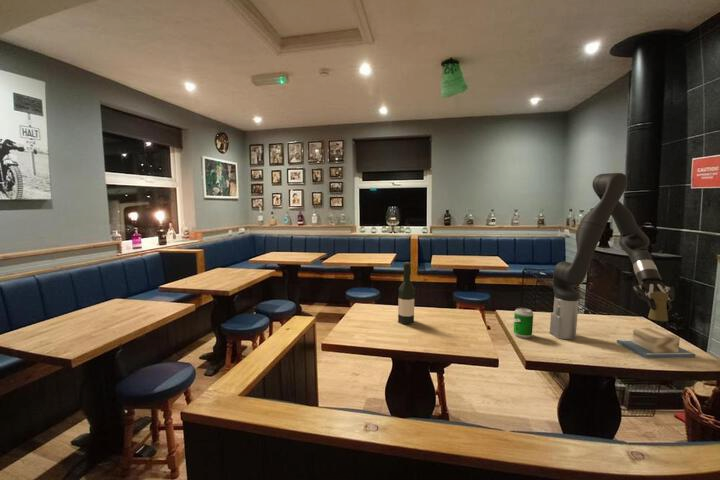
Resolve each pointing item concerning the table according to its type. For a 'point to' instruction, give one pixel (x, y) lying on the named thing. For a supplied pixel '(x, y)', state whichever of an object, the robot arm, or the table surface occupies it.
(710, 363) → the table surface
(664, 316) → the cork
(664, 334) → the maple pedestal
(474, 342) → the table surface
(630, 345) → the board
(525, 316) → the soda can
